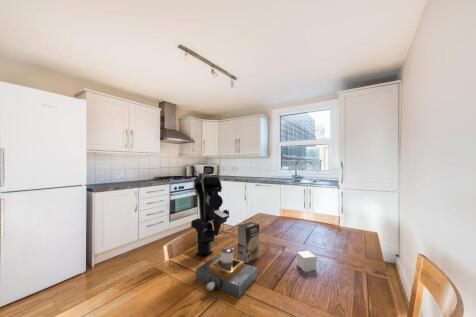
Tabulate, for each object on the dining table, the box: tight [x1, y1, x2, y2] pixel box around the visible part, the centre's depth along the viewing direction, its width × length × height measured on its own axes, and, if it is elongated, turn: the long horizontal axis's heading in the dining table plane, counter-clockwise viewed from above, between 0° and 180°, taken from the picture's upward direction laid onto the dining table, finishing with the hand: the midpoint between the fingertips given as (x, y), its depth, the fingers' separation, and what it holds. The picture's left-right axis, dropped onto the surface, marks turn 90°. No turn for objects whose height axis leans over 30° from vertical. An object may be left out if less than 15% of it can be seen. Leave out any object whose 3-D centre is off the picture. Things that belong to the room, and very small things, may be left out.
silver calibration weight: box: [220, 247, 235, 271], centre depth 79 cm, size 5×6×9 cm
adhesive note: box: [296, 250, 317, 272], centre depth 88 cm, size 6×6×6 cm
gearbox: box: [195, 255, 258, 298], centre depth 77 cm, size 18×20×6 cm
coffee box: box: [236, 221, 260, 264], centre depth 97 cm, size 9×6×16 cm
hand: (210, 238), depth 89 cm, fingers open, 9 cm apart
